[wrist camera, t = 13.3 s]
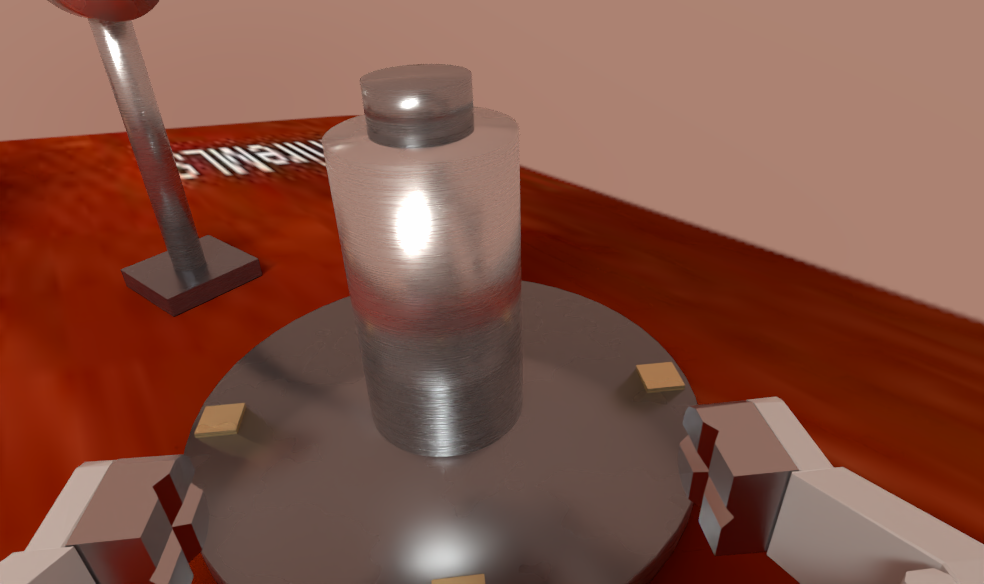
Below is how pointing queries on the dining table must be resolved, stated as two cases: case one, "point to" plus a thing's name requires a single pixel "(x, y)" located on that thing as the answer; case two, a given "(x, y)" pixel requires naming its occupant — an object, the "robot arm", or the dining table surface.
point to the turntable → (447, 463)
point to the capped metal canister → (432, 257)
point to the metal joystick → (159, 172)
